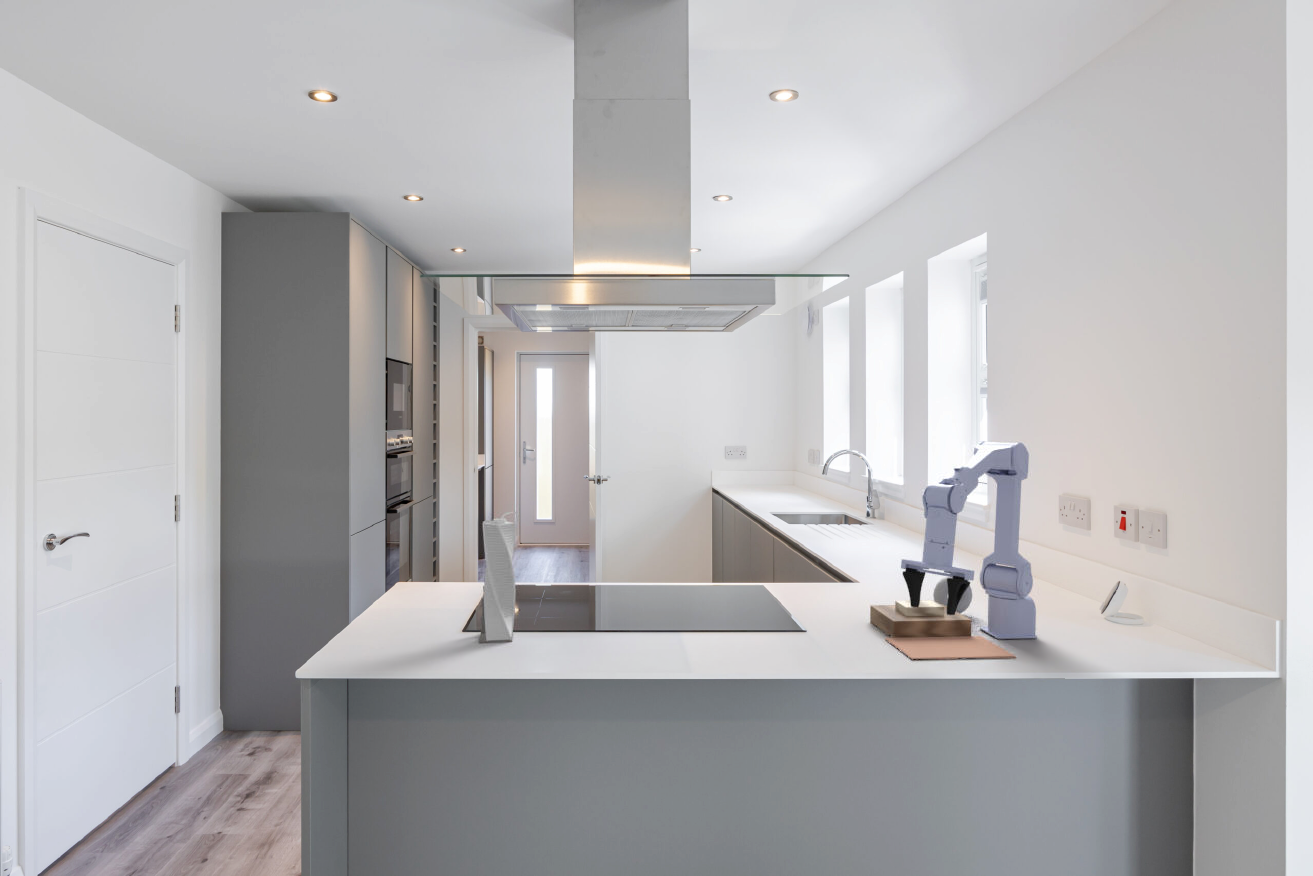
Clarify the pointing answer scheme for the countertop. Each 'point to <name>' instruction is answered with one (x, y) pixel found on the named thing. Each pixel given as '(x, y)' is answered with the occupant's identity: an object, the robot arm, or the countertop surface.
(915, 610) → the cream rectangular block
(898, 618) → the block
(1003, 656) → the mat
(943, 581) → the donut
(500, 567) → the skyscraper
